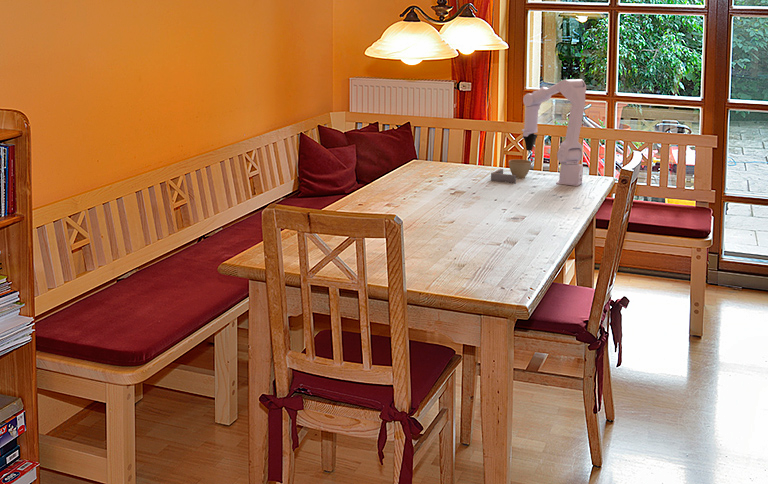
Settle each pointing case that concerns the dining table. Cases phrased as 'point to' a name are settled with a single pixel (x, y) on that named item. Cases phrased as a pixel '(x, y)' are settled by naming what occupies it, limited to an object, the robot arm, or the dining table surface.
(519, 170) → the flower pot
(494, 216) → the dining table surface
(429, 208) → the dining table surface
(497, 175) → the keeper bracket
